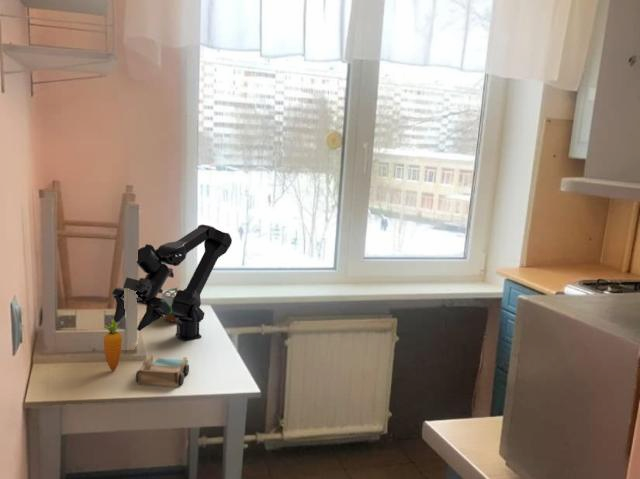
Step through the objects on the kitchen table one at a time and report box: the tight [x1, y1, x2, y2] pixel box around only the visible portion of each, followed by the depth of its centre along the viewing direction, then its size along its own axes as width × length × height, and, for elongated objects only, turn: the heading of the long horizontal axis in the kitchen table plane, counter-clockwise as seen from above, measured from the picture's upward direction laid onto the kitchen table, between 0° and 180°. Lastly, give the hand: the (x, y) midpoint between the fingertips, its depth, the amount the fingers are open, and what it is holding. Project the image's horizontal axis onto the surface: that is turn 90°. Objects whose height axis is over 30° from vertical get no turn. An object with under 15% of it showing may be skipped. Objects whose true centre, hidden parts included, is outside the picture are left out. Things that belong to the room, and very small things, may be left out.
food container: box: [161, 287, 178, 324], centre depth 211 cm, size 12×6×10 cm, turn 20°
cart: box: [135, 354, 190, 388], centre depth 169 cm, size 17×13×4 cm
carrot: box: [103, 318, 123, 372], centre depth 167 cm, size 5×5×15 cm
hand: (126, 326), depth 171 cm, fingers open, 9 cm apart
